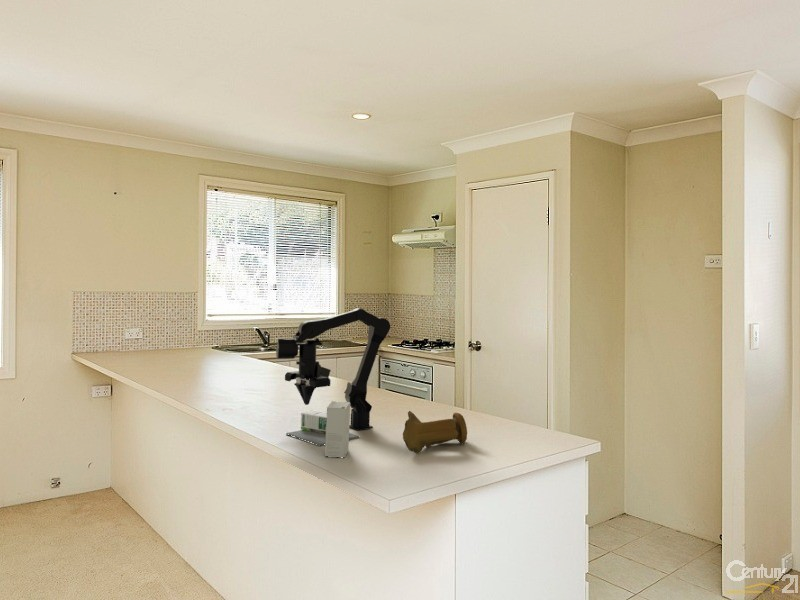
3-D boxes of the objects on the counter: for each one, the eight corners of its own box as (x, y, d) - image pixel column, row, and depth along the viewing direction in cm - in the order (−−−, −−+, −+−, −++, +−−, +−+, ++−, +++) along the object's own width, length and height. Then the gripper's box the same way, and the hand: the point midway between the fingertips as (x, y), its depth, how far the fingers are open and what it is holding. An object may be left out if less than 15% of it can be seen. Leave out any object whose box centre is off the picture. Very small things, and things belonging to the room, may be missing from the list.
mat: (359, 437, 191) (359, 435, 191) (319, 446, 180) (319, 444, 180) (325, 427, 204) (325, 425, 204) (286, 434, 193) (286, 433, 193)
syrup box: (300, 412, 198) (335, 418, 190) (311, 409, 203) (346, 415, 196) (300, 429, 198) (334, 436, 191) (311, 426, 203) (345, 432, 196)
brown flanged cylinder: (389, 416, 191) (454, 404, 195) (397, 457, 188) (462, 443, 192) (397, 410, 174) (468, 397, 178) (406, 455, 170) (478, 440, 175)
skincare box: (329, 449, 177) (330, 400, 176) (349, 450, 176) (350, 401, 176) (324, 458, 168) (325, 406, 168) (345, 458, 168) (346, 407, 168)
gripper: (343, 359, 197) (342, 406, 197) (310, 354, 210) (310, 397, 211) (316, 362, 189) (315, 410, 190) (284, 356, 203) (283, 401, 203)
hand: (306, 404), depth 198 cm, fingers closed
